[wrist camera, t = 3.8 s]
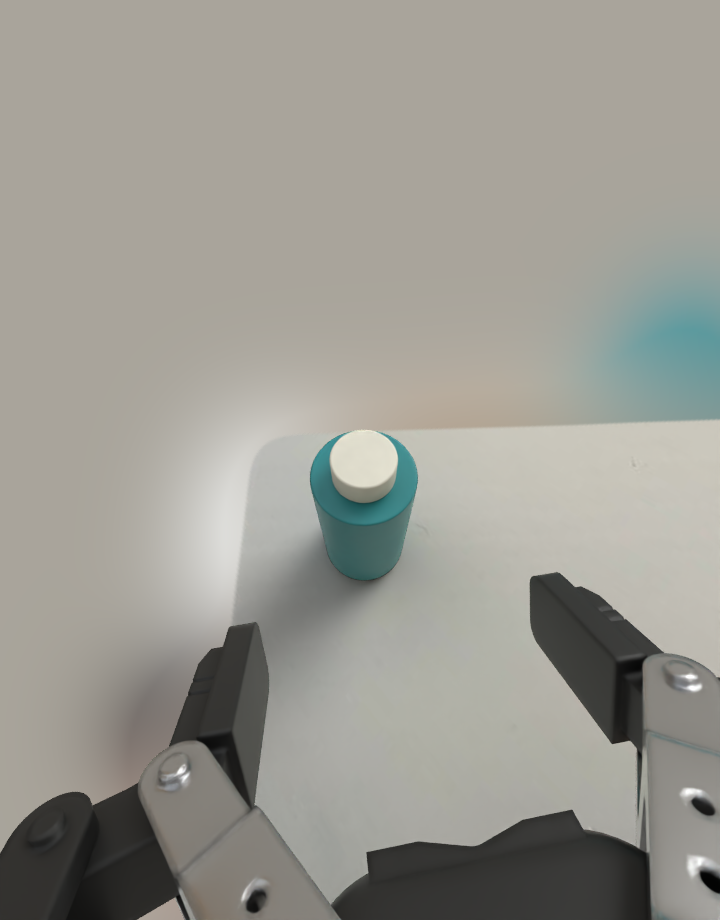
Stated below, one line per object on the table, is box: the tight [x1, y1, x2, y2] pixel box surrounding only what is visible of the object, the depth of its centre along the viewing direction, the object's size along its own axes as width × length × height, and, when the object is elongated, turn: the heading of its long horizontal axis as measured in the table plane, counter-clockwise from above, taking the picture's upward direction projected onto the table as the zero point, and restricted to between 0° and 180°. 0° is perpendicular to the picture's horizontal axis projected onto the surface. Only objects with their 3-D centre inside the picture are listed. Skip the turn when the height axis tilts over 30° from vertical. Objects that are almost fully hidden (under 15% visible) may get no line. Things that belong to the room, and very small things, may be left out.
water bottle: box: [310, 430, 418, 580], centre depth 21 cm, size 4×4×10 cm
